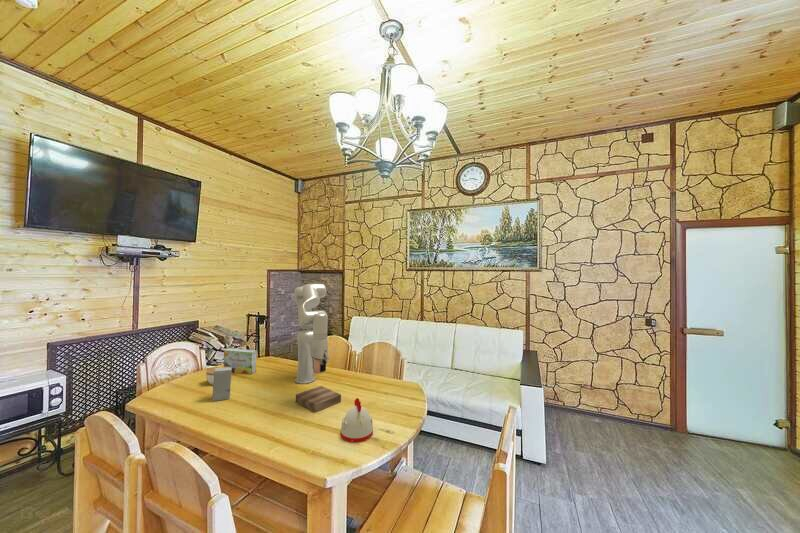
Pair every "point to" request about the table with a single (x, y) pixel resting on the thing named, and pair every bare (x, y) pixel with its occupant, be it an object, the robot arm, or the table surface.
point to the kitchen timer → (357, 424)
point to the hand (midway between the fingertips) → (319, 369)
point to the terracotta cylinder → (317, 366)
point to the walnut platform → (318, 398)
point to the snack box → (240, 360)
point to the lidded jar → (210, 375)
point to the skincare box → (221, 383)
